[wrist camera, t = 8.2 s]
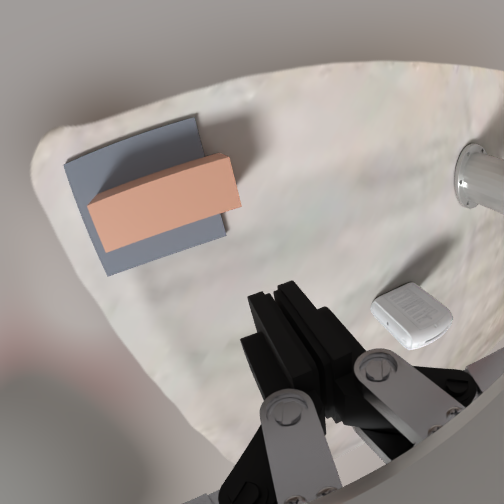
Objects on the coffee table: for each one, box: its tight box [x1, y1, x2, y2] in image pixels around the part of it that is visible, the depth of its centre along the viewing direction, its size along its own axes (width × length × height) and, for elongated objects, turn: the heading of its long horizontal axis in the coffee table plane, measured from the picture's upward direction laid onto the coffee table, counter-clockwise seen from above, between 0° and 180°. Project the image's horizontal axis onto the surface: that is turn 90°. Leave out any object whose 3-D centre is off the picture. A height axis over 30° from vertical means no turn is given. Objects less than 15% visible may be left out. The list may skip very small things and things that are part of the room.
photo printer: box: [371, 282, 453, 350], centre depth 44 cm, size 10×4×12 cm, turn 100°
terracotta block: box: [87, 153, 242, 253], centre depth 29 cm, size 5×5×14 cm
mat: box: [64, 117, 226, 276], centre depth 31 cm, size 15×14×1 cm
